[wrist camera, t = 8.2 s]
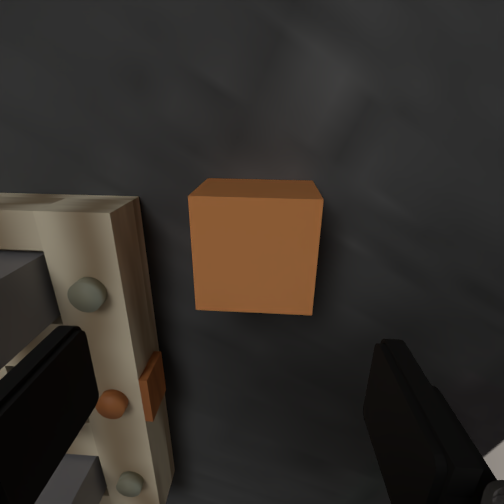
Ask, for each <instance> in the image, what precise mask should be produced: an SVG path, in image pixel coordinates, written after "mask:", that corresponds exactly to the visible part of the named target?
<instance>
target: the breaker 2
mask: <svg viewBox="0 0 504 504" xmlns="http://www.w3.org/2000/svg"><path fill="white" fill-rule="evenodd" d="M106 488H107V485H106V481H105V477H104V474H103V470H102V466H101V463H100V459H99V456H90V455H77V454H65V456H64V457H63V459H62V461H61V462H60V464H59V465H58V467H57V469H56V470H55V472H54V473H53V475H52V477H51V478H50V480H49V481H48V483H47V484H46V486H45V488H44V489H43V491H42V492H41V494H40V496H39V497H38V499H37V500H36V502H35V504H99V503H100V501H101V499H102V497H103V494H104V492H105V490H106Z"/></svg>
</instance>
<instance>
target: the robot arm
mask: <svg viewBox="0 0 504 504" xmlns="http://www.w3.org/2000/svg"><path fill="white" fill-rule="evenodd" d="M98 399H99V391H98V386H97V382H96V377H95V373H94V368H93V363H92V359H91V354H90V350H89V345H88V340H87V336H86V333H85V331H82V330H81V328H80V327H79V326H69V325H60V326H58V327H56V328H55V329H54V330H53V331H52V332H51V333H50V334H49V335H48V336H47V337H46V338H44V339H43V340H42V341H41V342H40V343H39V344H38V345H37V346H36V347H35V348H34V349H33V350H32V351H30V352H29V353H28V354H27V355H26V356H25V357H24V358H23V359H22V360H21V361H20V362H19V363H18V364H17V365H15V366H14V367H13V368H12V369H11V370H10V371H9V372H8V373H7V374H6V375H5V376H4V377H3V378H2V379H0V504H35V502H36V500H37V499H38V497H39V496H40V494H41V492H42V491H43V489H44V488H45V486H46V484H47V483H48V481H49V480H50V478H51V477H52V475H53V473H54V472H55V470H56V469H57V467H58V465H59V464H60V462H61V461H62V459H63V457H64V456H65V454H66V453H67V451H68V449H69V448H70V446H71V445H72V443H73V441H74V440H75V438H76V437H77V435H78V434H79V432H80V430H81V429H82V427H83V426H84V424H85V422H86V421H87V419H88V418H89V416H90V414H91V413H92V411H93V410H94V408H95V406H96V405H97V402H98ZM363 415H364V420H365V423H366V426H367V429H368V432H369V436H370V439H371V442H372V445H373V448H374V451H375V454H376V457H377V460H378V464H379V467H380V470H381V473H382V476H383V479H384V482H385V485H386V488H387V492H388V495H389V498H390V501H391V504H504V480H497V479H496V478H495V476H494V475H493V473H492V472H491V470H490V468H489V467H488V465H487V464H486V462H485V461H484V459H483V457H482V456H481V454H480V453H479V451H478V450H477V448H476V447H475V445H474V443H473V442H472V440H471V439H470V437H469V436H468V434H467V433H466V431H465V429H464V428H463V426H462V425H461V423H460V422H459V420H458V419H457V417H456V415H455V414H454V412H453V411H452V409H451V408H450V406H449V405H448V403H447V401H446V400H445V398H444V397H443V395H442V394H441V392H440V391H439V390H438V389H437V388H436V387H435V386H431V384H430V382H429V381H428V379H427V378H426V376H425V374H424V373H423V371H422V370H421V368H420V366H419V365H418V363H417V362H416V360H415V358H414V357H413V355H412V354H411V352H410V350H409V349H408V347H407V346H406V344H405V342H404V341H403V340H395V339H383V340H382V341H381V343H380V344H376V345H375V348H374V353H373V359H372V364H371V369H370V375H369V380H368V385H367V390H366V396H365V401H364V406H363Z"/></svg>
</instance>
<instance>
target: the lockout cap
mask: <svg viewBox="0 0 504 504" xmlns="http://www.w3.org/2000/svg"><path fill="white" fill-rule="evenodd" d="M323 201H324V199H323V198H322V196H321V194H320V193H319V191H318V189H317V187H316V186H315V184H314V182H313V181H308V180H264V179H220V178H208V179H207V180H206V181H204V182H203V183H202V184H201V185H200V186H199V187H198V188H196V189H195V190H194V191H193V192H192V193H191V194H190V195H189V196H188V203H189V217H190V231H191V246H192V260H193V274H194V289H195V303H196V310H211V311H232V312H252V313H273V314H294V315H312V310H313V300H314V290H315V280H316V270H317V261H318V251H319V241H320V231H321V221H322V211H323Z"/></svg>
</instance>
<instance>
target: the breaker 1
mask: <svg viewBox="0 0 504 504" xmlns="http://www.w3.org/2000/svg"><path fill="white" fill-rule="evenodd" d="M60 315H61V314H60V311H59V307H58V303H57V300H56V296H55V292H54V288H53V285H52V281H51V277H50V274H49V270H48V266H47V262H46V259H45V255H44V252H30V251H4V250H0V370H1V369H2V368H3V367H4V366H5V365H6V364H7V363H8V362H10V361H11V360H12V359H13V358H14V357H15V356H16V355H17V354H18V353H19V352H21V351H22V350H23V349H24V348H25V347H26V346H27V345H28V344H29V343H30V342H31V341H33V340H34V339H35V338H36V337H37V336H38V335H39V334H40V333H41V332H42V331H44V330H45V329H46V328H47V327H48V326H49V325H50V324H51V323H52V322H53V321H54V320H56V319H57V318H58V317H59V316H60Z"/></svg>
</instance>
